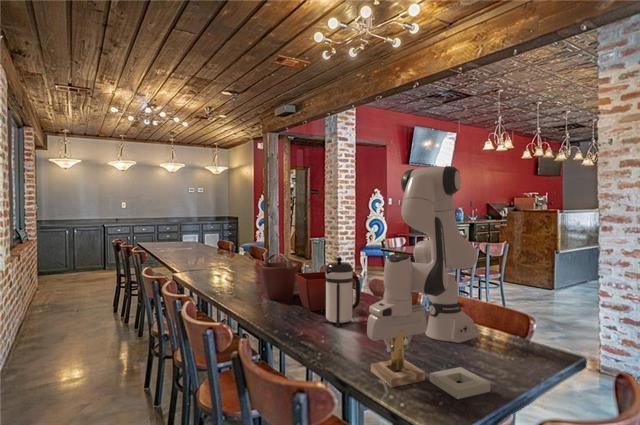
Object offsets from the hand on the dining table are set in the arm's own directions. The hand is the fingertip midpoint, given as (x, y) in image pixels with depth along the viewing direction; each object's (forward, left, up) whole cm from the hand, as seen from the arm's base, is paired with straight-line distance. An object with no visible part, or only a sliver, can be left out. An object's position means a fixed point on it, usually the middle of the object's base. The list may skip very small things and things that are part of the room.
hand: (397, 350), depth 123 cm
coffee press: (-8, -58, -8) cm, 59 cm away
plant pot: (-8, -86, -8) cm, 87 cm away
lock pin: (0, 0, -5) cm, 5 cm away
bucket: (+3, -117, -8) cm, 117 cm away
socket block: (-13, +13, -8) cm, 20 cm away
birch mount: (0, 0, -8) cm, 8 cm away
